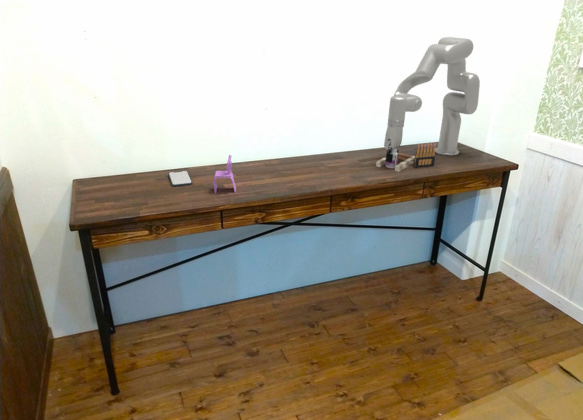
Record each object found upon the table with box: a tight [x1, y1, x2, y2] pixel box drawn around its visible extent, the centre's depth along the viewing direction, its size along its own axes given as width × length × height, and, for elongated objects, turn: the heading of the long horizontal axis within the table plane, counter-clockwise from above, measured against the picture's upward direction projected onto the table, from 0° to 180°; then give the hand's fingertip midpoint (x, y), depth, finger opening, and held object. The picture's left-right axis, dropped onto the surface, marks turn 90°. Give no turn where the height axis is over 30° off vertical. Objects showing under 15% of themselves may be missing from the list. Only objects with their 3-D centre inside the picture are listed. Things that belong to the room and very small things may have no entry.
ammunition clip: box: [412, 141, 436, 169], centre depth 221 cm, size 11×2×12 cm, turn 107°
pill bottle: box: [385, 146, 399, 169], centre depth 220 cm, size 5×5×10 cm
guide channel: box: [375, 152, 415, 172], centre depth 225 cm, size 20×12×2 cm, turn 142°
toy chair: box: [213, 154, 237, 194], centre depth 188 cm, size 8×9×15 cm
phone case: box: [167, 170, 193, 188], centre depth 201 cm, size 9×2×16 cm
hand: (391, 159), depth 220 cm, fingers closed on pill bottle, 5 cm apart
